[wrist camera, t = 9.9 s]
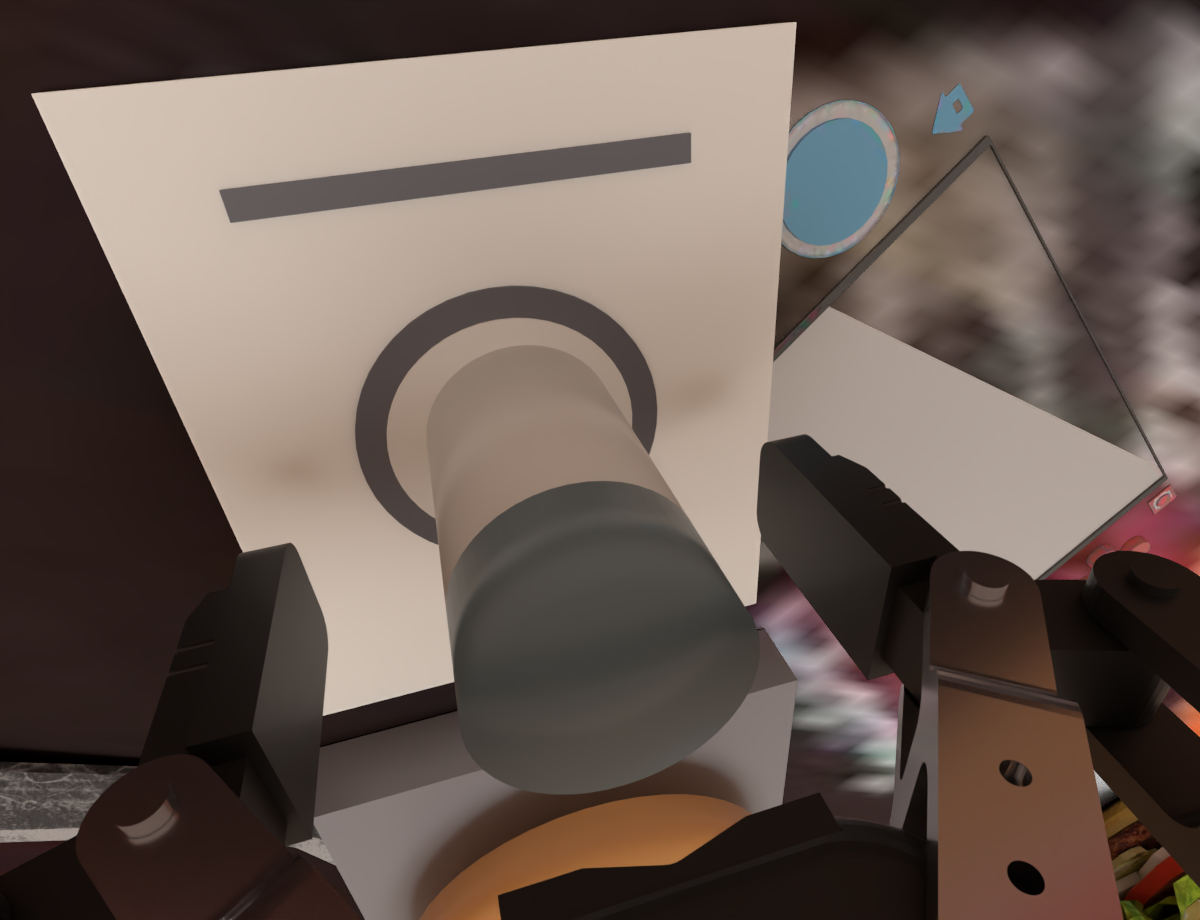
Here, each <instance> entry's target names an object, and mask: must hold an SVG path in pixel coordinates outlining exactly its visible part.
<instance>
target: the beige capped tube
mask: <svg viewBox="0 0 1200 920" xmlns="http://www.w3.org/2000/svg"><path fill="white" fill-rule="evenodd" d="M426 442H427V450H428V459H429V467H430V476H431V485H432V493H433V502H434V510H435V519H436V528H437V536H438V545H439V553H440V562H441V571H442V579H443V588H444V596H445V605H446V614H447V622H448V631H449V639H450V648H451V657H452V665H453V674H454V682H455V691H456V700H457V708H458V717H459V725H460V731H461V736H462V740H463V742H464V745H465V747H466V749H467V751H468V753H469V754H470V756H471V757H472V759H473V760H474V761H475V762H476V763H477V764H478V765H479V766H480V767H481V768H482V769H483V770H484V771H485V772H486V773H488V774H489V775H491V776H492V777H494V778H495V779H497V780H499V781H501V782H503V783H505V784H507V785H509V786H513V787H516V788H519V789H522V790H526V791H531V792H536V793H544V794H582V793H591V792H597V791H602V790H608V789H611V788H615V787H619V786H623V785H626V784H629V783H632V782H635V781H638V780H641V779H644V778H646V777H648V776H651V775H653V774H655V773H658V772H660V771H662V770H664V769H666V768H668V767H669V766H671V765H673V764H675V763H677V762H678V761H680V760H682V759H683V758H685V757H687V756H688V755H690V754H691V753H693V752H694V751H695V750H697V749H698V748H699V747H701V746H702V745H704V744H705V743H706V742H707V741H708V740H709V739H711V738H712V737H713V736H714V735H715V734H716V733H717V732H718V731H719V730H720V729H721V728H722V727H723V726H724V725H725V724H726V723H727V722H728V721H729V720H730V719H731V717H732V716H733V715H734V714H735V713H736V711H737V710H738V709H739V707H740V706H741V704H742V703H743V701H744V699H745V698H746V696H747V694H748V692H749V690H750V688H751V686H752V684H753V682H754V679H755V676H756V673H757V670H758V664H759V658H760V642H759V636H758V631H757V628H756V626H755V624H754V621H753V619H752V617H751V615H750V614H749V612H748V611H747V609H746V608H745V606H744V604H743V603H742V601H741V600H740V598H739V597H738V595H737V593H736V592H735V590H734V589H733V587H732V586H731V584H730V582H729V581H728V579H727V578H726V576H725V574H724V573H723V571H722V570H721V568H720V567H719V565H718V563H717V562H716V560H715V559H714V557H713V556H712V554H711V552H710V551H709V549H708V548H707V546H706V545H705V543H704V541H703V540H702V538H701V537H700V535H699V533H698V532H697V530H696V529H695V527H694V526H693V524H692V522H691V521H690V519H689V518H688V516H687V515H686V513H685V511H684V510H683V508H682V507H681V505H680V504H679V502H678V500H677V499H676V497H675V496H674V494H673V492H672V491H671V489H670V488H669V486H668V485H667V483H666V481H665V480H664V478H663V477H662V475H661V474H660V472H659V470H658V469H657V467H656V466H655V464H654V463H653V461H652V459H651V458H650V456H649V455H648V453H647V451H646V450H645V448H644V447H643V445H642V444H641V442H640V440H639V439H638V437H637V436H636V434H635V433H634V431H633V429H632V428H631V426H630V425H629V423H628V422H627V420H626V418H625V417H624V415H623V414H622V412H621V410H620V409H619V407H618V406H617V404H616V403H615V401H614V399H613V398H612V396H611V395H610V393H609V392H608V390H607V388H606V387H605V385H604V384H603V382H602V381H601V379H600V378H599V376H598V375H597V374H596V373H595V372H594V371H593V370H592V369H591V368H590V367H589V366H588V365H586V364H585V363H584V362H583V361H581V360H579V359H578V358H576V357H575V356H573V355H571V354H568V353H566V352H564V351H561V350H558V349H554V348H551V347H545V346H538V345H520V346H510V347H506V348H502V349H498V350H495V351H492V352H489V353H487V354H484V355H482V356H480V357H478V358H476V359H474V360H472V361H471V362H470V363H468V364H467V365H465V366H464V367H462V368H461V369H460V370H459V371H458V372H456V373H455V374H454V375H453V376H452V377H451V378H450V379H449V381H448V382H447V383H446V384H445V385H444V386H443V388H442V389H441V391H440V392H439V394H438V395H437V397H436V399H435V401H434V403H433V406H432V408H431V411H430V414H429V418H428V423H427V430H426Z"/></svg>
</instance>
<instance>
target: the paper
mask: <svg viewBox="0 0 1200 920" xmlns="http://www.w3.org/2000/svg"><path fill="white" fill-rule="evenodd" d="M796 23H797V22H786V23H775V24H765V25H754V26H743V27H733V28H722V29H711V30H701V31H690V32H679V33H669V34H658V35H647V36H637V37H626V38H615V39H604V40H594V41H583V42H572V43H562V44H551V45H540V46H530V47H519V48H508V49H498V50H487V51H476V52H466V53H455V54H444V55H434V56H423V57H412V58H401V59H391V60H380V61H369V62H359V63H348V64H337V65H327V66H316V67H305V68H295V69H284V70H273V71H263V72H252V73H241V74H231V75H220V76H209V77H198V78H188V79H177V80H166V81H156V82H145V83H134V84H124V85H113V86H102V87H92V88H81V89H70V90H60V91H49V92H39V93H33V94H31V95H32V97H33V99H34V101H35V103H36V105H37V108H38V110H39V112H40V114H41V116H42V118H43V121H44V123H45V125H46V127H47V129H48V131H49V134H50V136H51V138H52V140H53V142H54V144H55V147H56V149H57V151H58V153H59V155H60V157H61V160H62V162H63V164H64V166H65V168H66V170H67V173H68V175H69V177H70V179H71V181H72V183H73V186H74V188H75V190H76V192H77V194H78V196H79V199H80V201H81V203H82V205H83V207H84V209H85V212H86V214H87V216H88V218H89V220H90V222H91V225H92V227H93V229H94V231H95V233H96V235H97V237H98V240H99V242H100V244H101V246H102V248H103V250H104V253H105V255H106V257H107V259H108V261H109V263H110V266H111V268H112V270H113V272H114V274H115V276H116V279H117V281H118V283H119V285H120V287H121V289H122V292H123V294H124V296H125V298H126V300H127V302H128V305H129V307H130V309H131V311H132V313H133V315H134V318H135V320H136V322H137V324H138V326H139V328H140V331H141V333H142V335H143V337H144V339H145V341H146V344H147V346H148V348H149V350H150V352H151V354H152V357H153V359H154V361H155V363H156V365H157V367H158V370H159V372H160V374H161V376H162V378H163V380H164V383H165V385H166V387H167V389H168V391H169V393H170V396H171V398H172V400H173V402H174V404H175V406H176V408H177V411H178V413H179V415H180V417H181V419H182V421H183V424H184V426H185V428H186V430H187V432H188V434H189V437H190V439H191V441H192V443H193V445H194V447H195V450H196V452H197V454H198V456H199V458H200V460H201V463H202V465H203V467H204V469H205V471H206V473H207V476H208V478H209V480H210V482H211V484H212V486H213V489H214V491H215V493H216V495H217V497H218V499H219V502H220V504H221V506H222V508H223V510H224V512H225V515H226V517H227V519H228V521H229V523H230V525H231V528H232V530H233V532H234V534H235V536H236V538H237V541H238V543H239V545H240V547H241V549H242V551H243V553H244V552H248V551H253V550H258V549H262V548H267V547H272V546H276V545H281V544H286V543H292V544H293V545H294V546H295V547H296V549H297V551H298V553H299V555H300V558H301V560H302V563H303V565H304V568H305V570H306V573H307V575H308V578H309V580H310V583H311V585H312V588H313V590H314V593H315V595H316V597H317V600H318V602H319V605H320V607H321V610H322V613H323V616H324V619H325V623H326V628H327V635H328V659H327V671H326V683H325V695H324V706H323V716H324V715H328V714H332V713H336V712H340V711H344V710H347V709H351V708H355V707H359V706H363V705H367V704H371V703H374V702H378V701H382V700H386V699H390V698H394V697H398V696H401V695H405V694H409V693H413V692H417V691H421V690H425V689H428V688H432V687H436V686H440V685H444V684H448V683H452V682H454V674H453V665H452V657H451V648H450V639H449V631H448V622H447V614H446V605H445V596H444V588H443V579H442V571H441V562H440V553H439V545H438V536H437V528H436V519H435V510H434V502H433V493H432V485H431V476H430V467H429V459H428V450H427V442H426V430H427V423H428V418H429V414H430V411H431V408H432V406H433V403H434V401H435V399H436V397H437V395H438V394H439V392H440V391H441V389H442V388H443V386H444V385H445V384H446V383H447V382H448V381H449V379H450V378H451V377H452V376H453V375H454V374H455V373H456V372H458V371H459V370H460V369H461V368H462V367H464V366H465V365H467V364H468V363H470V362H471V361H472V360H474V359H476V358H478V357H480V356H482V355H484V354H487V353H489V352H492V351H495V350H498V349H502V348H506V347H510V346H520V345H538V346H545V347H551V348H554V349H558V350H561V351H564V352H566V353H568V354H571V355H573V356H575V357H576V358H578V359H579V360H581V361H583V362H584V363H585V364H586V365H588V366H589V367H590V368H591V369H592V370H593V371H594V372H595V373H596V374H597V375H598V376H599V378H600V379H601V381H602V382H603V384H604V385H605V387H606V388H607V390H608V392H609V393H610V395H611V396H612V398H613V399H614V401H615V403H616V404H617V406H618V407H619V409H620V410H621V412H622V414H623V415H624V417H625V418H626V420H627V422H628V423H629V425H630V426H631V428H632V429H633V431H634V433H635V434H636V436H637V437H638V439H639V440H640V442H641V444H642V445H643V447H644V448H645V450H646V451H647V453H648V455H649V456H650V458H651V459H652V461H653V463H654V464H655V466H656V467H657V469H658V470H659V472H660V474H661V475H662V477H663V478H664V480H665V481H666V483H667V485H668V486H669V488H670V489H671V491H672V492H673V494H674V496H675V497H676V499H677V500H678V502H679V504H680V505H681V507H682V508H683V510H684V511H685V513H686V515H687V516H688V518H689V519H690V521H691V522H692V524H693V526H694V527H695V529H696V530H697V532H698V533H699V535H700V537H701V538H702V540H703V541H704V543H705V545H706V546H707V548H708V549H709V551H710V552H711V554H712V556H713V557H714V559H715V560H716V562H717V563H718V565H719V567H720V568H721V570H722V571H723V573H724V574H725V576H726V578H727V579H728V581H729V582H730V584H731V586H732V587H733V589H734V590H735V592H736V593H737V595H738V597H739V598H740V600H741V601H742V603H743V604H744V606H749V605H752V604H756V599H757V584H758V570H759V556H760V541H761V533H760V530H759V527H758V522H757V497H758V481H759V465H760V452H761V448H762V446H763V444H764V443H766V442H767V440H768V426H769V411H770V397H771V383H772V368H773V354H774V339H775V325H776V311H777V296H778V282H779V267H780V253H781V239H782V224H783V210H784V195H785V181H786V167H787V152H788V138H789V123H790V109H791V95H792V80H793V66H794V51H795V37H796Z"/></svg>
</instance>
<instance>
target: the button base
mask: <svg viewBox="0 0 1200 920" xmlns="http://www.w3.org/2000/svg"><path fill="white" fill-rule="evenodd" d="M758 636H759V642H760V658H759V664H758V670H757V673H756V676H755V679H754V682H753V684H752V686H751V688H750V690H749V692H748V694H747V696H746V698H745V699H744V701H743V703H742V704H741V706H740V707H739V709H738V710H737V711H736V713H735V714H734V715H733V716H732V717H731V719H730V720H729V721H728V722H727V723H726V724H725V725H724V726H723V727H722V728H721V729H720V730H719V731H718V732H717V733H716V734H715V735H714V736H713V737H712V738H711V739H709V740H708V741H707V742H706V743H705V744H704V745H702V746H701V747H699V748H698V749H697V750H695V751H694V752H693V753H691V754H690V755H688V756H687V757H685V758H683V759H682V760H680V761H678V762H677V763H675V764H673V765H671V766H669V767H668V768H666V769H664V770H662V771H660V772H658V773H655V774H653V775H651V776H648V777H646V778H644V779H641V780H638V781H635V782H632V783H629V784H626V785H623V786H619V787H615V788H611V789H608V790H602V791H597V792H591V793H582V794H544V793H536V792H531V791H526V790H522V789H519V788H516V787H513V786H509V785H507V784H505V783H503V782H501V781H499V780H497V779H495V778H494V777H492V776H491V775H489V774H488V773H486V772H485V771H484V770H483V769H482V768H481V767H480V766H479V765H478V764H477V763H476V762H475V761H474V760H473V759H472V757H471V756H470V754H469V753H468V751H467V749H466V747H465V745H464V742H463V740H462V736H461V731H460V725H459V717H458V711H455V712H451V713H448V714H444V715H440V716H436V717H433V718H429V719H425V720H422V721H418V722H414V723H410V724H407V725H403V726H399V727H395V728H392V729H388V730H384V731H380V732H377V733H373V734H369V735H365V736H362V737H358V738H354V739H350V740H347V741H343V742H339V743H335V744H332V745H328V746H324V747H320V753H319V765H318V777H317V788H316V800H315V812H314V826H315V828H316V829H317V831H318V833H319V835H320V837H321V839H322V841H323V842H324V844H325V846H326V848H327V850H328V852H329V854H330V855H331V857H332V859H333V861H334V863H335V865H336V866H337V868H338V870H339V872H340V874H341V876H342V878H343V879H344V881H345V883H346V885H347V887H348V889H349V891H350V892H351V894H352V896H353V898H354V900H355V902H356V903H357V905H358V907H359V909H360V911H361V913H362V915H363V916H364V918H365V920H419V919H420V918H421V916H422V915H423V913H424V912H425V910H426V909H427V907H428V906H429V904H430V903H431V902H432V901H433V900H434V899H435V897H436V896H437V895H438V894H439V893H440V892H441V891H442V890H443V888H445V887H446V886H447V885H448V884H449V883H450V882H451V881H452V880H453V879H455V878H456V877H457V876H458V875H459V874H460V873H461V872H463V871H464V870H465V869H467V868H468V867H469V866H471V865H472V864H473V863H475V862H476V861H477V860H479V859H480V858H481V857H483V856H485V855H486V854H488V853H489V852H491V851H493V850H494V849H496V848H498V847H499V846H501V845H502V844H504V843H506V842H508V841H510V840H512V839H513V838H515V837H517V836H519V835H521V834H523V833H525V832H527V831H529V830H531V829H533V828H536V827H538V826H540V825H543V824H545V823H547V822H550V821H552V820H554V819H557V818H560V817H563V816H565V815H568V814H571V813H574V812H577V811H580V810H583V809H586V808H590V807H594V806H598V805H601V804H605V803H609V802H613V801H619V800H624V799H630V798H635V797H642V796H653V795H663V794H689V795H698V796H708V797H712V798H716V799H721V800H725V801H728V802H730V803H733V804H735V805H738V806H740V807H742V808H743V809H745V810H747V811H748V812H750V813H751V814H754V813H757V812H760V811H763V810H767V809H770V808H773V807H776V806H779V805H782V800H783V792H784V784H785V776H786V768H787V760H788V752H789V744H790V736H791V728H792V720H793V712H794V704H795V696H796V688H797V679H796V677H795V675H794V674H793V672H792V671H791V669H790V668H789V666H788V665H787V663H786V661H785V660H784V658H783V657H782V655H781V654H780V652H779V651H778V649H777V647H776V646H775V644H774V643H773V641H772V640H771V638H770V637H769V635H768V634H767V632H766V630H765V629H762V630H758Z"/></svg>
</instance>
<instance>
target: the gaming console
mask: <svg viewBox="0 0 1200 920" xmlns="http://www.w3.org/2000/svg"><path fill="white" fill-rule="evenodd" d="M957 99H959V101H960V103H961V105H962V109H961V110H960V111H959V112H958V113H956V111H955V110H954V108H953V103H954V102H955V101H956V100H957ZM973 111H974V109H973V107H972V106H971V104H970V102H969V100H968V98H967V96H966V94H965V92H964V90H963V88H962V86H961V85H960V84H958V85H957V86H956V87H955V88H954V89H953V90H952V91H951V92H950V93H949V94H948V95H947V96H945V95H944V94H943V92H941V95H940V100H939V104H938V108H937V112H936V117H935V121H934V125H933V129H932V134H938V133H947V132H957V131H962V130H963V128H962V127H961V124H962V123H963V122H964V121H965V120H966V119H967V118H968V117H969V116H970V115H971V114H972V113H973ZM989 146H990V147H991V149H992V151H993V153H994V154H995V156H996V158H997V160H998V162H999V164H1000V166H1001V168H1002V170H1003V172H1004V173H1005V175H1006V177H1007V179H1008V181H1009V183H1010V185H1011V187H1012V189H1013V191H1014V193H1015V194H1016V196H1017V198H1018V200H1019V202H1020V204H1021V206H1022V208H1023V210H1024V212H1025V213H1026V215H1027V217H1028V219H1029V221H1030V223H1031V225H1032V227H1033V229H1034V231H1035V232H1036V234H1037V236H1038V238H1039V240H1040V242H1041V244H1042V246H1043V248H1044V250H1045V251H1046V253H1047V255H1048V257H1049V259H1050V261H1051V263H1052V265H1053V267H1054V269H1055V271H1056V272H1057V274H1058V276H1059V278H1060V280H1061V282H1062V284H1063V286H1064V288H1065V290H1066V291H1067V293H1068V295H1069V297H1070V299H1071V301H1072V303H1073V305H1074V307H1075V309H1076V310H1077V312H1078V314H1079V316H1080V318H1081V320H1082V322H1083V324H1084V326H1085V328H1086V329H1087V331H1088V333H1089V335H1090V337H1091V339H1092V341H1093V343H1094V345H1095V347H1096V349H1097V350H1098V352H1099V354H1100V356H1101V358H1102V360H1103V362H1104V364H1105V366H1106V368H1107V369H1108V371H1109V373H1110V375H1111V377H1112V379H1113V381H1114V383H1115V385H1116V386H1117V388H1118V390H1119V392H1120V394H1121V396H1122V398H1123V400H1124V402H1125V404H1126V405H1127V407H1128V409H1129V411H1130V413H1131V415H1132V417H1133V419H1134V421H1135V423H1136V424H1137V426H1138V428H1139V430H1140V432H1141V434H1142V436H1143V438H1144V440H1145V442H1146V443H1147V445H1148V447H1149V449H1150V451H1151V453H1152V455H1153V457H1154V459H1155V461H1156V462H1157V464H1158V466H1159V467H1158V466H1156V465H1154V464H1152V463H1150V462H1147V461H1145V460H1143V459H1141V458H1139V457H1137V456H1135V455H1133V454H1131V453H1129V452H1127V451H1125V450H1123V449H1121V448H1119V447H1117V446H1115V445H1113V444H1110V443H1108V442H1106V441H1104V440H1102V439H1100V438H1098V437H1096V436H1094V435H1092V434H1090V433H1088V432H1086V431H1084V430H1082V429H1080V428H1078V427H1076V426H1074V425H1071V424H1069V423H1067V422H1065V421H1063V420H1061V419H1059V418H1057V417H1055V416H1053V415H1051V414H1049V413H1047V412H1045V411H1043V410H1041V409H1039V408H1037V407H1035V406H1032V405H1030V404H1028V403H1026V402H1024V401H1022V400H1020V399H1018V398H1016V397H1014V396H1012V395H1010V394H1008V393H1006V392H1004V391H1002V390H1000V389H998V388H995V387H993V386H991V385H989V384H987V383H985V382H983V381H981V380H979V379H977V378H975V377H973V376H971V375H969V374H967V373H965V372H963V371H961V370H959V369H957V368H955V367H952V366H950V365H948V364H946V363H944V362H942V361H940V360H938V359H936V358H934V357H932V356H930V355H928V354H926V353H924V352H922V351H919V350H918V349H915V348H913V347H911V346H909V345H907V344H905V343H903V342H901V341H899V340H897V339H895V338H893V337H891V336H889V335H887V334H885V333H883V332H880V331H879V330H876V329H874V328H872V327H870V326H868V325H866V324H864V323H862V322H860V321H858V320H856V319H854V318H852V317H850V316H848V315H846V314H844V313H842V312H839V311H837V310H835V309H833V308H831V307H829V306H830V305H831V304H832V303H833V302H834V301H835V300H836V299H837V298H838V297H839V296H840V295H841V294H842V293H843V292H844V291H845V290H846V289H847V288H848V287H849V286H850V285H851V284H852V283H853V282H854V281H855V280H856V279H857V278H858V277H859V276H860V275H861V274H862V273H863V272H864V271H865V270H866V269H867V268H868V267H869V266H870V265H871V264H872V263H873V262H874V261H875V260H876V259H877V258H878V257H879V256H880V255H881V254H882V253H883V252H884V251H885V250H886V249H887V248H888V247H889V246H890V245H891V244H892V243H893V242H894V241H895V240H896V239H897V238H898V237H899V236H900V235H901V234H902V233H903V232H904V231H905V230H906V229H907V228H908V227H909V226H910V225H911V224H912V223H913V222H914V221H915V220H916V219H917V218H918V217H919V216H920V215H921V214H922V213H923V212H924V211H925V210H926V209H927V208H928V207H929V206H930V205H931V204H932V203H933V202H934V201H935V200H936V199H937V198H938V197H939V196H940V195H941V194H942V193H943V192H944V191H945V190H946V189H947V188H948V187H949V186H950V185H951V184H952V183H953V182H954V181H955V180H956V179H957V178H958V177H959V176H960V175H961V174H962V173H963V172H964V171H965V170H966V169H967V168H968V167H969V166H970V165H971V164H972V163H973V162H974V161H975V160H976V159H977V158H978V157H979V156H980V155H981V154H982V153H983V152H984V151H985V150H986V149H987V148H988V147H989ZM898 173H899V149H898V144H897V138H896V136H895V134H894V131H893V129H892V127H891V124H890V123H889V122H888V120H887V119H886V118H885V117H884V116H883V115H882V113H881V112H880V111H878V110H877V109H875V108H874V107H872V106H870V105H869V104H867V103H863V102H859V101H856V100H838V101H834V102H831V103H828V104H824V105H822V106H820V107H818V108H817V109H815V110H813V111H811V112H809V113H808V114H807V115H806V116H804V117H803V118H802V119H801V120H800V121H799V122H797V123H796V124H795V125H794V126H793V127H792V129H791V130H790V131H789V138H788V152H787V167H786V181H785V195H784V210H783V224H782V239H781V244H782V245H783V246H785V247H786V248H787V249H788V250H790V251H792V252H794V253H796V254H798V255H800V256H804V257H809V258H824V257H830V256H833V255H836V254H839V253H842V252H844V251H845V250H847V249H849V248H851V247H853V246H854V245H856V244H857V243H858V242H859V241H860V240H862V239H863V238H864V237H865V236H867V235H868V233H869V232H870V231H871V230H872V229H873V228H874V226H875V225H876V224H877V223H878V222H879V221H880V219H881V217H882V216H883V214H884V212H885V211H886V209H887V207H888V206H889V203H890V201H891V198H892V196H893V193H894V191H895V188H896V183H897V178H898ZM802 434H807V435H809V436H810V437H812V438H813V439H814V440H815V441H816V442H817V443H818V444H819V445H820V446H821V447H822V448H823V449H824V450H826V451H827V452H828V453H829V454H830V455H831V456H836V455H841V456H843V457H845V458H847V459H849V460H851V461H854V462H856V463H858V464H860V465H862V466H864V467H866V468H867V469H869V470H870V471H871V472H872V473H873V474H874V475H875V476H876V477H877V478H879V479H880V480H881V481H882V482H883V483H884V484H885V487H886V488H890V489H891V490H892V491H893V492H894V493H895V494H897V495H898V496H899V497H900V498H901V502H902V503H903V502H905V503H907V504H908V505H909V506H910V507H911V508H912V509H913V510H914V511H916V512H917V513H918V514H919V515H920V516H921V517H922V518H923V519H924V520H926V521H927V522H928V523H929V524H930V525H931V526H932V527H933V528H935V529H936V530H937V531H938V532H939V533H940V534H941V535H942V536H943V537H945V538H946V539H947V540H948V541H949V542H950V543H951V544H952V545H954V546H955V547H956V548H957V549H958V550H959V551H977V552H984V553H988V554H992V555H995V556H998V557H1001V558H1003V559H1006V560H1008V561H1010V562H1012V563H1014V564H1016V565H1017V566H1019V567H1020V568H1022V569H1023V570H1024V571H1026V572H1027V573H1028V574H1029V575H1030V576H1031V577H1032V578H1033V580H1044V579H1046V578H1047V577H1048V576H1049V575H1051V574H1052V573H1053V572H1054V571H1055V570H1057V569H1058V568H1059V567H1060V566H1062V565H1063V564H1064V563H1065V562H1067V561H1068V560H1069V559H1070V558H1071V557H1073V556H1074V555H1075V554H1076V553H1078V552H1079V551H1080V550H1081V549H1082V548H1084V547H1085V546H1086V545H1087V544H1089V543H1090V542H1091V541H1092V540H1094V539H1095V538H1096V537H1097V536H1098V535H1100V534H1101V533H1102V532H1103V531H1105V530H1106V529H1107V528H1108V527H1109V526H1111V525H1112V524H1113V523H1114V522H1116V521H1117V520H1118V519H1119V518H1121V517H1122V516H1123V515H1124V514H1125V513H1127V512H1128V511H1129V510H1130V509H1132V508H1133V507H1134V506H1135V505H1136V504H1138V503H1139V502H1140V501H1141V500H1143V499H1144V498H1145V497H1146V496H1148V495H1149V494H1150V493H1151V492H1152V491H1154V490H1155V489H1156V488H1157V487H1159V486H1160V485H1161V484H1162V483H1163V482H1165V481H1166V480H1167V479H1168V478H1167V476H1166V474H1165V472H1164V470H1163V468H1162V466H1161V464H1160V462H1159V460H1158V459H1157V457H1156V455H1155V453H1154V451H1153V449H1152V447H1151V445H1150V443H1149V441H1148V439H1147V437H1146V436H1145V434H1144V432H1143V430H1142V428H1141V426H1140V424H1139V422H1138V420H1137V418H1136V416H1135V414H1134V413H1133V411H1132V409H1131V407H1130V405H1129V403H1128V401H1127V399H1126V397H1125V395H1124V393H1123V392H1122V390H1121V388H1120V386H1119V384H1118V382H1117V380H1116V378H1115V376H1114V374H1113V372H1112V370H1111V369H1110V367H1109V365H1108V363H1107V361H1106V359H1105V357H1104V355H1103V353H1102V351H1101V349H1100V347H1099V346H1098V344H1097V342H1096V340H1095V338H1094V336H1093V334H1092V332H1091V330H1090V328H1089V326H1088V325H1087V323H1086V321H1085V319H1084V317H1083V315H1082V313H1081V311H1080V309H1079V307H1078V305H1077V303H1076V302H1075V300H1074V298H1073V296H1072V294H1071V292H1070V290H1069V288H1068V286H1067V284H1066V282H1065V280H1064V279H1063V277H1062V275H1061V273H1060V271H1059V269H1058V267H1057V265H1056V263H1055V261H1054V259H1053V257H1052V256H1051V254H1050V252H1049V250H1048V248H1047V246H1046V244H1045V242H1044V240H1043V238H1042V236H1041V235H1040V233H1039V231H1038V229H1037V227H1036V225H1035V223H1034V221H1033V219H1032V217H1031V215H1030V213H1029V212H1028V210H1027V208H1026V206H1025V204H1024V202H1023V200H1022V198H1021V196H1020V194H1019V192H1018V190H1017V189H1016V187H1015V185H1014V183H1013V181H1012V179H1011V177H1010V175H1009V173H1008V171H1007V169H1006V168H1005V166H1004V164H1003V162H1002V160H1001V158H1000V156H999V154H998V152H997V150H996V148H995V146H994V145H993V143H992V141H991V139H990V137H989V136H985V137H983V138H982V139H981V140H980V141H979V142H978V143H977V144H976V145H975V147H974V148H973V149H972V150H971V151H970V152H969V153H968V154H967V155H966V156H965V157H964V158H963V159H962V160H961V161H960V162H959V163H958V164H957V165H956V166H955V167H954V168H953V169H952V170H951V171H950V172H949V173H948V174H947V175H946V176H945V177H944V178H943V179H942V180H941V181H940V182H939V183H938V184H937V185H936V186H935V187H934V188H933V189H932V190H931V191H930V192H929V193H928V194H927V195H926V196H925V197H924V198H923V199H922V200H921V201H920V202H919V203H918V204H917V205H916V206H915V207H914V208H913V209H912V210H911V211H910V212H909V213H908V214H907V215H906V216H905V217H904V218H903V219H902V220H901V221H900V222H899V223H898V224H897V225H896V226H895V227H894V228H893V229H892V230H891V231H890V232H889V233H888V234H887V235H886V236H885V237H884V238H883V239H882V240H881V241H880V242H879V243H878V244H877V245H876V246H875V247H874V248H873V249H872V250H871V251H870V252H869V253H868V254H867V255H866V256H865V257H864V258H863V259H862V260H861V261H860V262H859V263H858V264H857V265H856V266H855V267H854V268H853V269H852V270H851V271H850V272H849V273H848V274H847V275H846V276H845V277H844V278H843V279H842V280H841V281H840V282H839V283H838V284H837V285H836V286H835V287H834V288H833V289H832V290H831V291H830V292H829V293H828V294H827V295H826V296H825V297H824V298H823V299H822V300H821V302H820V303H819V304H818V305H817V306H816V307H815V308H814V309H813V310H812V311H811V312H810V313H809V314H808V315H807V316H806V317H805V318H804V319H803V320H802V321H801V322H800V323H799V324H798V325H797V326H796V327H795V328H794V329H793V330H792V331H791V332H790V333H789V334H788V335H787V336H786V337H785V338H784V339H783V340H782V341H781V342H780V343H779V344H778V345H777V346H776V347H775V348H774V354H773V368H772V383H771V397H770V411H769V426H768V440H767V442H770V441H774V440H779V439H784V438H788V437H793V436H798V435H802ZM1176 497H1177V496H1176V494H1175V492H1174V490H1173V489H1172V487H1171V485H1168V486H1167V487H1166V488H1164V489H1163V490H1162V491H1161V492H1159V493H1158V494H1157V495H1156V496H1155V497H1153V498H1152V499H1151V500H1150V501H1148V502H1147V503H1148V505H1149V507H1150V509H1151V510H1152V512H1153V514H1156V513H1158V512H1159V511H1160V510H1161V509H1163V508H1164V507H1165V506H1166V505H1168V504H1169V503H1170V502H1171V501H1173V500H1174V499H1175V498H1176ZM761 540H762V541H763V542H764V540H763V538H762V536H761ZM764 543H765V542H764ZM1149 549H1150V543H1148V542H1147V541H1146V540H1145V539H1144V538H1143V537H1141V536H1136V537H1133V538H1131V539H1130V540H1128V541H1127V542H1126V543H1125V544H1124V545H1123V546H1122V548H1121V550H1120V551H1138V552H1144V553H1147V552H1148V551H1149ZM1114 551H1115V550H1114V549H1113V548H1112V547H1111V546H1110V545H1108V544H1104V545H1101V546H1099V547H1097V548H1096V549H1094V550H1093V551H1092V552H1091V553H1090V554H1089V556H1088V558H1087V561H1086V563H1087V565H1089V566H1090V567H1093V565H1094V563H1095V561H1096V560H1097V559H1098V558H1099V557H1100V556H1102V555H1104V554H1106V553H1109V552H1114ZM1088 577H1089V576H1085V577H1083V578H1081V579H1080V580H1087V579H1088Z"/></svg>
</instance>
